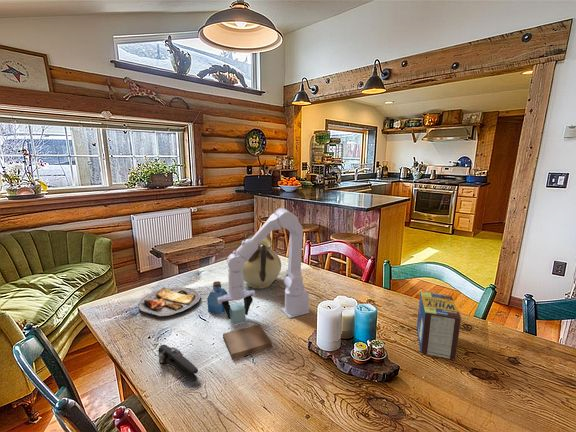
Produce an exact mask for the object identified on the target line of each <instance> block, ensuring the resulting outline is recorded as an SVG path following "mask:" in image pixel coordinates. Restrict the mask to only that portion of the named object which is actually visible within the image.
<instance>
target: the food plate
mask: <svg viewBox="0 0 576 432" xmlns="http://www.w3.org/2000/svg"><path fill="white" fill-rule="evenodd" d="M200 299H201V294H200V293H199V292H198V291H197V290H196V289H194V288H190V287H182V286H178V287H177V286H174V287H168V288H167V287H161V289H158V290H155V291H153V292H152V293H149V294H147V295H145V296H144V297H142V299H141V300H140V301H139V302H138V303H137V307H138V310H139V311H141V312H143V313H146V314H150V315H153V316H154V315H155V316H157V317H169V316H172V315H175V314H178V313H181V312H184V311H185V310H187V309H190V308H192V307H193V306H195V305H196V304H197V303H199V301H200ZM184 305H186V306H184ZM170 310H172V311H171V312H168V311H170ZM164 311H165V312H164Z"/></svg>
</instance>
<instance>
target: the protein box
mask: <svg viewBox="0 0 576 432" xmlns="http://www.w3.org/2000/svg"><path fill="white" fill-rule="evenodd" d="M419 292H420V293H419V302H418V303H419V304H418V312H417V320H416V321H417V322H416V332H417V339H418V344H419V351H420V352H421V353H423V354H422V355H425V354H428V355H427V356H429V355H432V356H431V357H434V356H437V357H436V358H439V357H443V358H442V359H444V358H449V359H454V360H455V361H456V358H457V350H458V344H459V336H460V329H461V322H462V316H461V314H460V311H459V309H458V308H457V305H456V303H455V301H454V298H453V296H452V295H448V294H440V293H433V292H426V291H419ZM421 353H420V354H421ZM449 359H448V360H449ZM454 360H453V361H454Z"/></svg>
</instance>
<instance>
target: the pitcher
mask: <svg viewBox="0 0 576 432" xmlns="http://www.w3.org/2000/svg"><path fill="white" fill-rule="evenodd" d="M256 233H257V232H256ZM256 233H255V232H248V233H246V234H245V236H244V241H245V240H246V239H251V238H252V237H253V236H254V235H255V234H256ZM272 247H273V241H272V237H271V235H270V233H269V234H268V235H267V236H266V237H265V238H264V239H263V240H262V241H261V242H260V243H259V244H258V249H257V250H256V251H255V253H254V254H253V255H252V256H251V257H250V258H249V259H248V260H247V261H246V262H245V263H244V268H243V279H244V283H247V286H248V287H250V288H252V289H265V288H268V287H270V286H271V285H272V283H273V282H274V281H275V280H276V279H277V278H278V277H279V275H280V273H281V270H282V262H281V261H282V260H281V258H280V256H279V255H278V253H276V252H275V251H274V250H273V249H272Z"/></svg>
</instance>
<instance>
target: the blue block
mask: <svg viewBox="0 0 576 432" xmlns="http://www.w3.org/2000/svg"><path fill="white" fill-rule="evenodd" d="M229 305H230V319H229V320H230V322H231V323H232V326H235V325H240V324H243V323H246V314H245V307H244V303H243V302H238V303H233V304H229Z"/></svg>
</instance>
